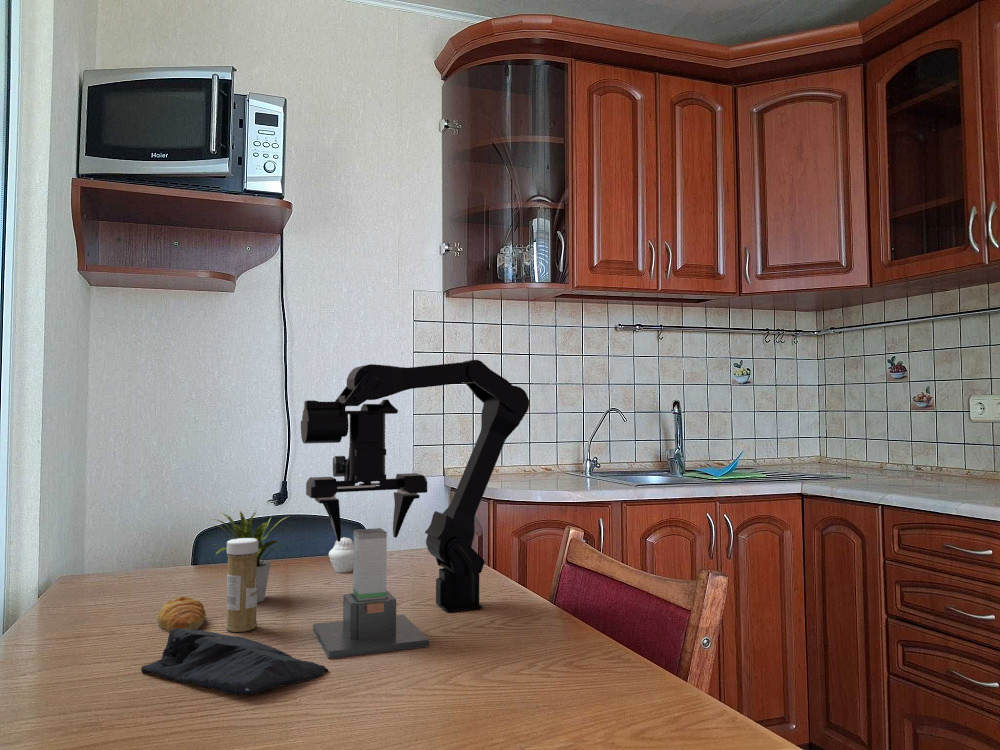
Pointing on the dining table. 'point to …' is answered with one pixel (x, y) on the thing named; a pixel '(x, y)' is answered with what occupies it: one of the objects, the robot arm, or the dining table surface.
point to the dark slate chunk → (229, 663)
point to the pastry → (182, 614)
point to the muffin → (342, 555)
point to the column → (369, 564)
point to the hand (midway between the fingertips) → (367, 539)
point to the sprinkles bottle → (242, 584)
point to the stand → (368, 629)
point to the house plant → (262, 565)
